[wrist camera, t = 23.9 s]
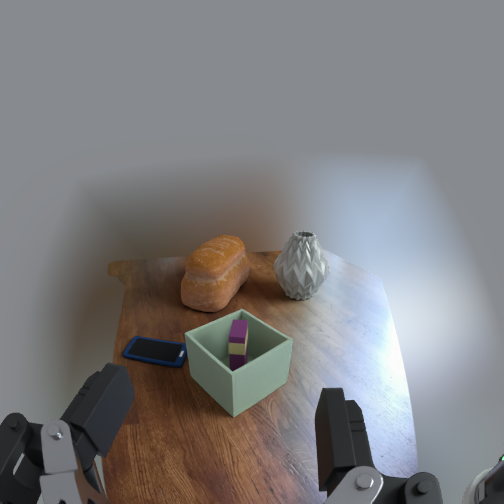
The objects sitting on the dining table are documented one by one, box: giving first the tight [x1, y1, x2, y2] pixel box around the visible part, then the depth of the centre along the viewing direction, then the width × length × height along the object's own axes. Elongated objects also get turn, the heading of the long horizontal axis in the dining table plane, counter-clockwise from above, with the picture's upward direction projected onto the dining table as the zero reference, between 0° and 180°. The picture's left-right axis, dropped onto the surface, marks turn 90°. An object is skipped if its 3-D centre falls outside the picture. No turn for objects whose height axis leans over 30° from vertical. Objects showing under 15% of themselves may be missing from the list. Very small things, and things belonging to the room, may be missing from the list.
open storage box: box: [185, 309, 293, 417], centre depth 49 cm, size 13×13×11 cm
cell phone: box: [123, 336, 187, 367], centre depth 57 cm, size 7×14×1 cm, turn 85°
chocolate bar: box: [228, 319, 248, 372], centre depth 48 cm, size 5×3×12 cm, turn 175°
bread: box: [181, 235, 250, 312], centre depth 82 cm, size 14×26×15 cm, turn 162°
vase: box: [273, 231, 330, 300], centre depth 81 cm, size 16×16×18 cm
